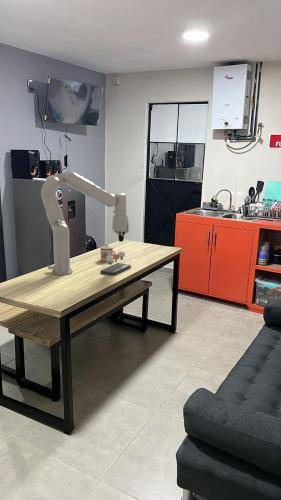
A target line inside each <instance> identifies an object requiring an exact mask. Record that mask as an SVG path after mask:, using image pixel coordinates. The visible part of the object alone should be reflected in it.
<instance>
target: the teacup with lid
mask: <svg viewBox="0 0 281 500" xmlns="http://www.w3.org/2000/svg"><path fill="white" fill-rule="evenodd" d="M114 253H117V252H116V251H115V250H114V247H113V246H112V245H109V244H108V243H105V244H104V245H103V246H100V261H102V262H108V261H107V256H113V254H114Z"/></svg>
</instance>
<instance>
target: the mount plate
mask: <svg viewBox="0 0 281 500" xmlns="http://www.w3.org/2000/svg"><path fill="white" fill-rule="evenodd" d="M131 266H132V265H131V264H127V263H121V262H115V264H112V265H109V266H108V267H105V268H103V269H100V274H101V275H108V276H113V277H115V276H117V275H119V274H121V273H124V272H125V271H127V270H129V269H131V268H132V267H131Z"/></svg>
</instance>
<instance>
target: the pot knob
mask: <svg viewBox="0 0 281 500" xmlns="http://www.w3.org/2000/svg"><path fill="white" fill-rule="evenodd" d="M113 256H114V262H115V263H118V260H120V257H119V254H118V252H116V253H114V252H113Z"/></svg>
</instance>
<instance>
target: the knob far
mask: <svg viewBox="0 0 281 500" xmlns="http://www.w3.org/2000/svg"><path fill="white" fill-rule="evenodd" d="M117 253H118V254H119V260H120V261H123V260H124V258H125V256H126V252H125V251H124V250H121V251H120V250H119V251H118V252H117Z"/></svg>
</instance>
